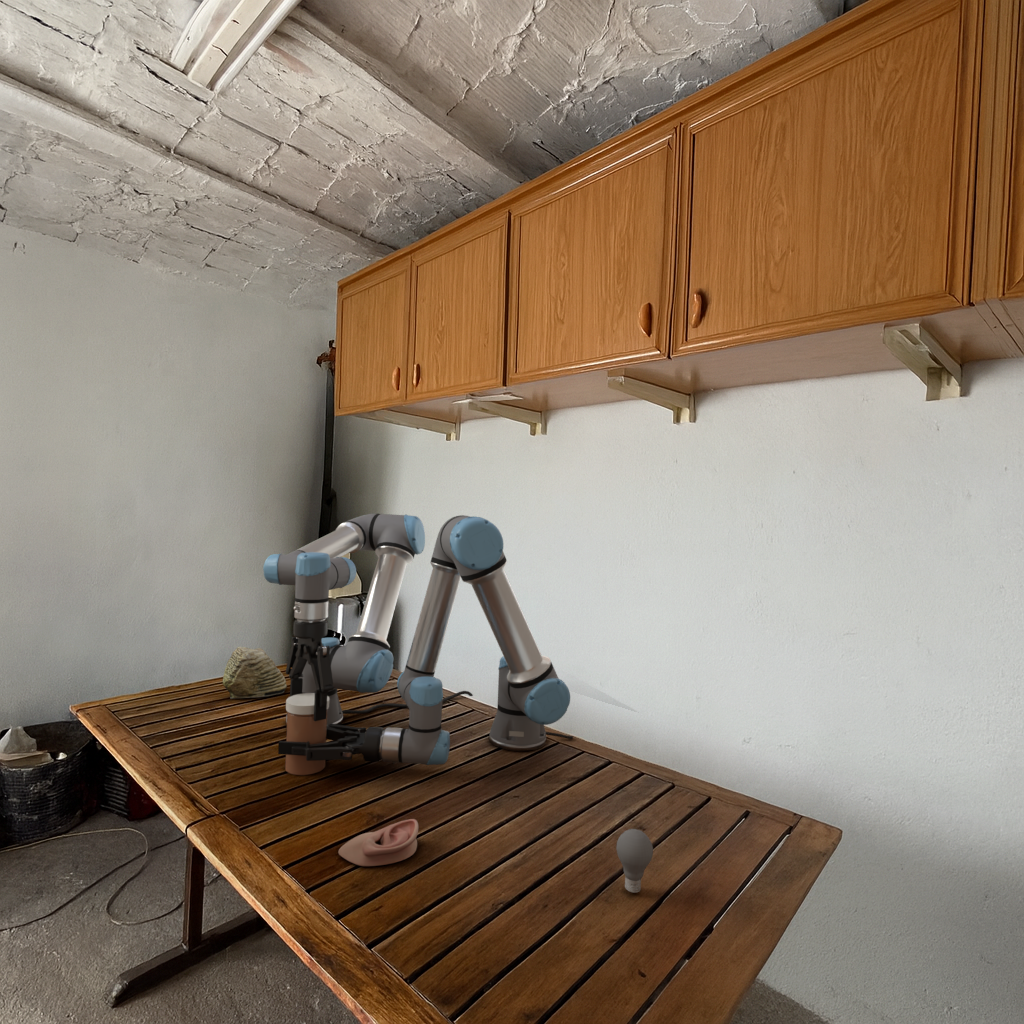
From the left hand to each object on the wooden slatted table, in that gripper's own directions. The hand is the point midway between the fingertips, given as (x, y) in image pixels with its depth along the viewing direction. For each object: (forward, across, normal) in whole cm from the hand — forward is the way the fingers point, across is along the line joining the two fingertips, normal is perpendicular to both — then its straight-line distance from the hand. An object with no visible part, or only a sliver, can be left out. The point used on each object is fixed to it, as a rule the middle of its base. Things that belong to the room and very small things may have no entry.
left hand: (307, 712), depth 148 cm
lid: (-3, 0, 0) cm, 3 cm away
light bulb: (+13, +78, +18) cm, 82 cm away
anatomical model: (+13, +41, -7) cm, 43 cm away
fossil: (+13, -58, +13) cm, 61 cm away
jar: (+13, 0, 0) cm, 13 cm away
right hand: (+7, -3, -3) cm, 8 cm away
